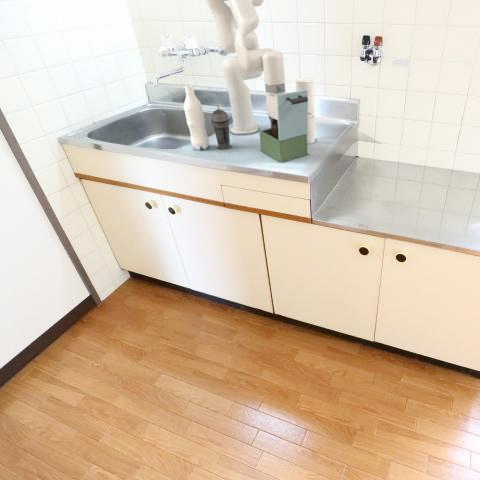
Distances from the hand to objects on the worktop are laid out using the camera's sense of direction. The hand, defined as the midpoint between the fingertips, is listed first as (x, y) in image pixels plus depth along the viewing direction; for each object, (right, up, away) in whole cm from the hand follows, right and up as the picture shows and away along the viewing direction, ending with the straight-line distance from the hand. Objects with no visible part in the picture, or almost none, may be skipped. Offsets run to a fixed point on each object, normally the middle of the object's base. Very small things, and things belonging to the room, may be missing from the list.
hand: (279, 135), depth 151 cm
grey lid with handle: (+6, +4, -13) cm, 15 cm away
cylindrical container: (+11, +1, +13) cm, 17 cm away
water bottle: (-34, -3, +8) cm, 35 cm away
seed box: (+2, -7, +2) cm, 7 cm away
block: (0, 0, 0) cm, 0 cm away
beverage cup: (-24, -3, +8) cm, 26 cm away
